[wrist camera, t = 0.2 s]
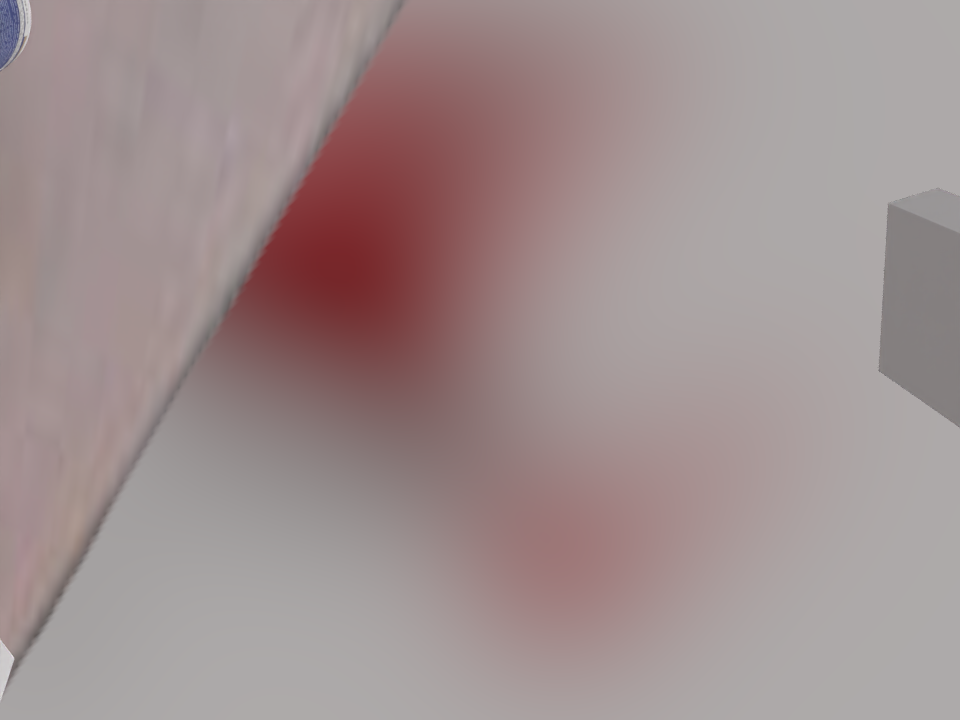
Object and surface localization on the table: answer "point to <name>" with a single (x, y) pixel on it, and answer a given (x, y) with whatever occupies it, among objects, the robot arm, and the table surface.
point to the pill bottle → (13, 29)
